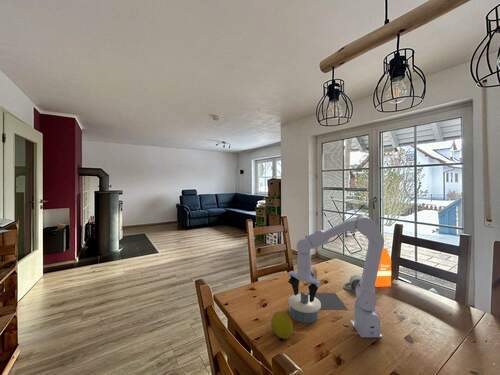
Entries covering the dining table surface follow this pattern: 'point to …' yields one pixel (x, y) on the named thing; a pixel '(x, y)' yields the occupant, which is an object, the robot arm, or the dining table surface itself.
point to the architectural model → (314, 273)
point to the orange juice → (384, 270)
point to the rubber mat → (330, 301)
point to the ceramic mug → (352, 283)
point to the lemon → (282, 325)
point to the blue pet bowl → (303, 316)
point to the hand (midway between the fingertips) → (303, 297)
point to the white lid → (304, 303)
